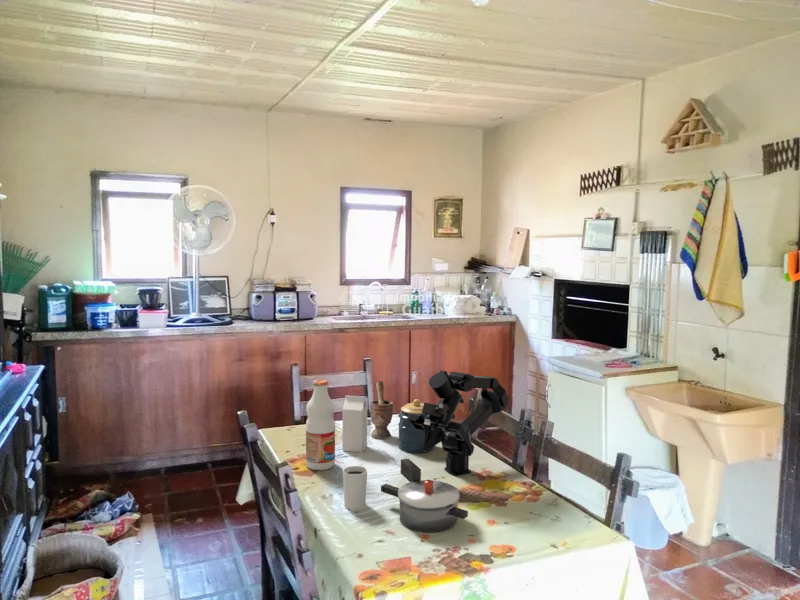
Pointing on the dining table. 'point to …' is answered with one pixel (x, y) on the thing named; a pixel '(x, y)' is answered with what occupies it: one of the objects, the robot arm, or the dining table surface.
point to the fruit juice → (320, 429)
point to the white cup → (354, 487)
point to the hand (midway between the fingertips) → (425, 450)
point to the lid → (425, 490)
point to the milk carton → (354, 424)
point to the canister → (411, 429)
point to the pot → (426, 515)
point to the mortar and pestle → (381, 414)
